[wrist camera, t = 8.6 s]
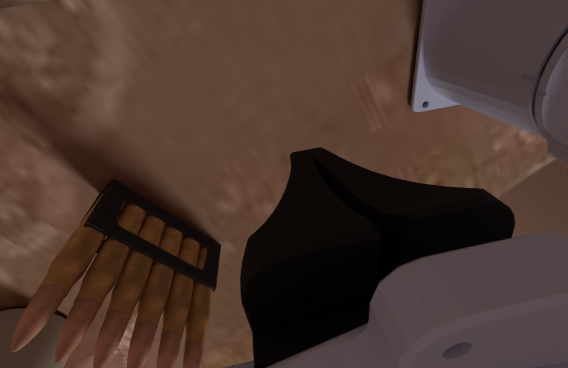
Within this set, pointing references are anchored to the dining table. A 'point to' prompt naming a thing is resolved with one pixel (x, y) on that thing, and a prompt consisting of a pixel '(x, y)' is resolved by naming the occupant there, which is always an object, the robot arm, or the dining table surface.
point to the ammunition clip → (129, 282)
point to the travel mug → (29, 343)
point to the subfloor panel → (18, 2)
